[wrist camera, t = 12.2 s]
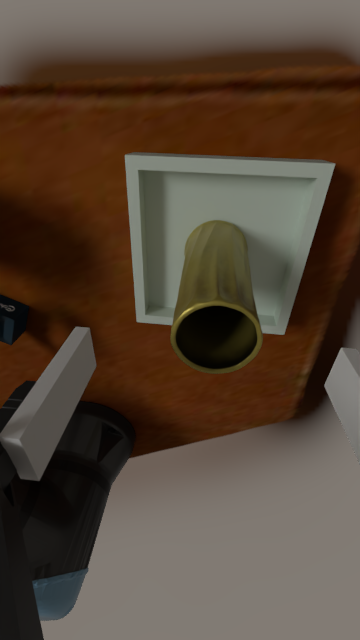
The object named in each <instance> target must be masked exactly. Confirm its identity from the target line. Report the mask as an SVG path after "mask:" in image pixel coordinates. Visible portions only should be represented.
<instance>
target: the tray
mask: <svg viewBox="0 0 360 640" xmlns="http://www.w3.org/2000/svg"><path fill="white" fill-rule="evenodd" d="M125 165H126V179H127V193H128V207H129V221H130V234H131V248H132V262H133V276H134V290H135V304H136V318H137V322H142V323H154V324H165V325H172V324H173V317H174V311H175V307H176V303H177V298H178V292H179V286H180V281H181V276H182V270H183V265H184V260H185V255H184V250H185V244H186V241H187V239H188V237H189V235H190V234H191V233H192V231H193V230H194V229H195V228H196V227H198V226H199V225H201V224H202V223H205V222H208V221H212V220H222V221H226V222H229V223H232V224H233V225H234V226H236V227H237V228H238V229H239V230H240V231H241V232H242V233H243V235H244V236H245V239H246V242H247V247H248V259H249V266H250V274H251V282H252V290H253V296H254V300H255V305H256V309H257V314H258V318H259V321H260V326H261V330H262V333H269V334H281V335H284V334H285V330H286V327H287V324H288V320H289V317H290V314H291V310H292V307H293V304H294V300H295V297H296V294H297V290H298V287H299V284H300V280H301V277H302V274H303V270H304V267H305V264H306V260H307V257H308V254H309V250H310V247H311V244H312V240H313V237H314V234H315V230H316V227H317V224H318V220H319V217H320V214H321V210H322V207H323V204H324V200H325V197H326V194H327V190H328V187H329V184H330V180H331V177H332V174H333V170H334V167H335V163H331V162H328V161H324V160H308V159H284V158H259V157H235V156H211V155H187V154H163V153H138V152H133V153H130V154H126V155H125Z"/></svg>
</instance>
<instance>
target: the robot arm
mask: <svg viewBox="0 0 360 640" xmlns="http://www.w3.org/2000/svg"><path fill="white" fill-rule="evenodd" d="M95 368H96V360H95V355H94V349H93V344H92V338H91V333H90V328H86V327H75V328H74V330H73V331H72V333H71V334H70V335H69V337H68V338H67V340H66V341H65V342H64V344H63V345H62V347H61V348H60V350H59V351H58V352H57V354H56V355H55V357H54V358H53V359H52V361H51V362H50V364H49V365H48V367H47V368H46V369H45V371H44V372H43V374H42V375H41V376H40V378H39V379H38V381H37V382H36V381H26V382H24V383H23V384H22V385H20V386H19V387H18V388H16V389H15V391H14V392H13V393H12V394H11V396H10V397H9V398H8V400H7V401H6V402H5V404H4V405H3V406H2V409H0V640H44V639H43V634H42V628H41V624H40V621H41V620H42V621H43V620H44V621H45V620H46V621H47V620H58V619H61V618H63V617H65V616H66V615H67V614H68V613H69V612H70V611H71V610H72V608H73V607H74V605H75V602H76V600H77V597H78V594H79V592H80V589H81V586H82V583H83V580H84V578H85V575H86V573H87V572H88V564H89V561H90V557H91V554H92V551H93V547H94V544H95V540H96V537H97V533H98V529H99V526H100V523H101V520H102V516H103V513H104V509H105V506H106V502H107V498H108V495H109V492H110V489H111V485H112V483H113V482H114V480H115V479H116V477H117V476H118V474H119V473H120V471H121V469H122V468H123V466H124V465H125V463H126V462H127V460H128V459H129V457H130V455H131V453H132V451H133V447H134V443H135V439H136V435H135V431H134V429H133V427H132V426H131V424H130V423H129V422H128V421H127V420H126V419H125V418H124V417H123V416H121V415H120V414H119V413H117V412H115V411H113V410H112V409H109V408H107V407H105V406H102V405H99V404H95V403H90V402H79V400H80V398H81V396H82V394H83V392H84V390H85V388H86V386H87V384H88V382H89V380H90V378H91V376H92V374H93V372H94V370H95ZM324 386H325V388H326V391H327V393H328V395H329V397H330V400H331V402H332V404H333V406H334V409H335V411H336V413H337V415H338V417H339V420H340V422H341V424H342V426H343V428H344V431H345V433H346V435H347V437H348V439H349V442H350V444H351V446H352V448H353V450H354V453H355V455H356V457H357V459H358V462H359V464H360V353H359V352H358V350H357V349H353V348H341V349H340V351H339V354H338V356H337V358H336V360H335V363H334V365H333V367H332V369H331V371H330V374H329V376H328V378H327V381H326V383H325V385H324Z"/></svg>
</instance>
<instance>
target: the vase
mask: <svg viewBox="0 0 360 640" xmlns="http://www.w3.org/2000/svg"><path fill="white" fill-rule="evenodd" d="M184 255H185V260H184V265H183V270H182V276H181V281H180V286H179V292H178V298H177V303H176V307H175V311H174V317H173V324H172V329H171V337H170V338H171V345H172V347H173V349H174V351H175V353H176V354H177V356H178V357H179V358H180V359H181V360H182V361H183V362H184V363H186V364H187V365H189V366H190V367H192V368H194V369H196V370H198V371H201V372H205V373H213V374H218V373H228V372H232V371H235V370H238V369H240V368H242V367H243V366H245V365H246V364H247V363H249V362H250V361H251V360H252V359H253V358H254V357H255V356H256V355H257V353H258V351H259V350H260V348H261V345H262V341H263V335H262V330H261V326H260V321H259V318H258V314H257V309H256V305H255V300H254V296H253V290H252V282H251V274H250V266H249V259H248V247H247V242H246V239H245V236H244V235H243V233H242V232H241V231H240V230H239V229H238V228H237V227H236V226H234V225H233V224H232V223H229V222H226V221H222V220H212V221H208V222H205V223H202V224H201V225H199V226H198V227H196V228H195V229H194V230H193V231H192V233H191V234H190V235H189V237H188V239H187V241H186V244H185V250H184Z"/></svg>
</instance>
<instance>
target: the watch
mask: <svg viewBox="0 0 360 640" xmlns="http://www.w3.org/2000/svg"><path fill="white" fill-rule="evenodd" d="M28 310H29V306H27V305H25V304H22V303H20V302H17V301H15V300H12V299H10V298H8V297H5V296H3V295H0V341H2V342H4V343H7V344H9V345H12V344H13V343H14V342H15V341H16V340H17V339H18V338H19V337H20V336H21V334H22V333H23V332H24V331H25V329H26V323H27V316H28Z"/></svg>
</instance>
